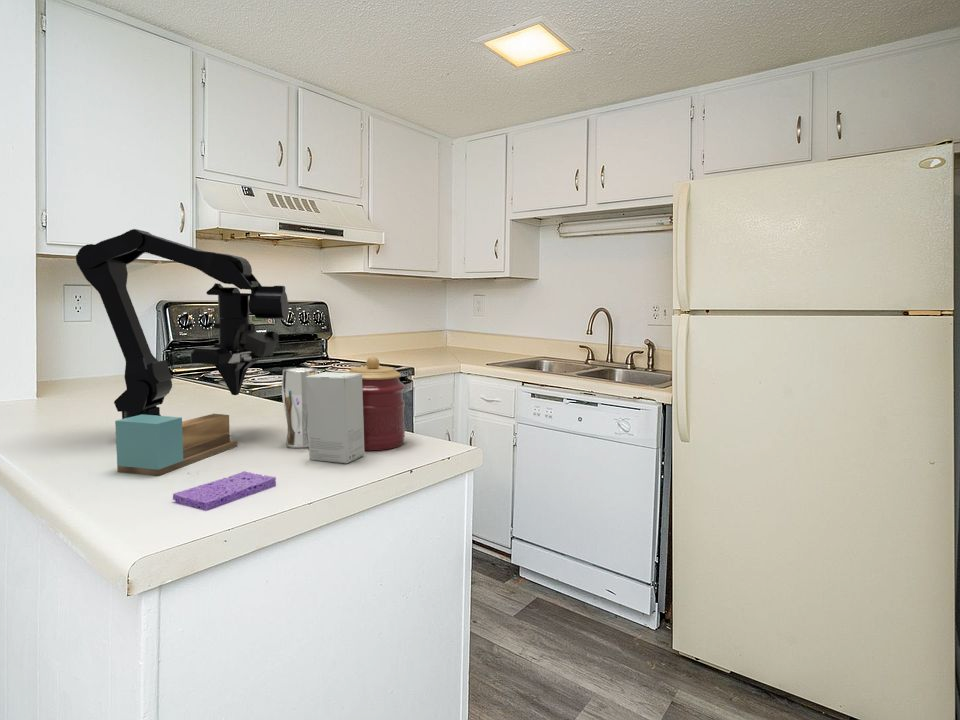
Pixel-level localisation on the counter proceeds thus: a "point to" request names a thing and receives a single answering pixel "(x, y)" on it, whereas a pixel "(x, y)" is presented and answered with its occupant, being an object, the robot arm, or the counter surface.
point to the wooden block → (204, 428)
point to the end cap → (149, 441)
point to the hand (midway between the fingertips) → (235, 394)
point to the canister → (381, 406)
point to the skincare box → (335, 416)
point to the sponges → (224, 490)
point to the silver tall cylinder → (296, 405)
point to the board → (189, 455)
